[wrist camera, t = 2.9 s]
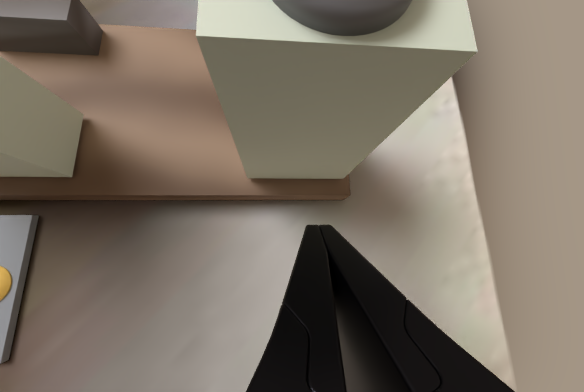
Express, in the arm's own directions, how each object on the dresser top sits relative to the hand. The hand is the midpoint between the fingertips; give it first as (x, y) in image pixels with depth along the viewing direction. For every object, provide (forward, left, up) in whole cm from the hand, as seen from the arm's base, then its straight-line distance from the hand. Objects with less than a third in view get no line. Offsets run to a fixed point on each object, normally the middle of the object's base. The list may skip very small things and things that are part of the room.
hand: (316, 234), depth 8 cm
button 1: (+6, 0, -6) cm, 8 cm away
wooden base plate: (+9, +8, -8) cm, 14 cm away
